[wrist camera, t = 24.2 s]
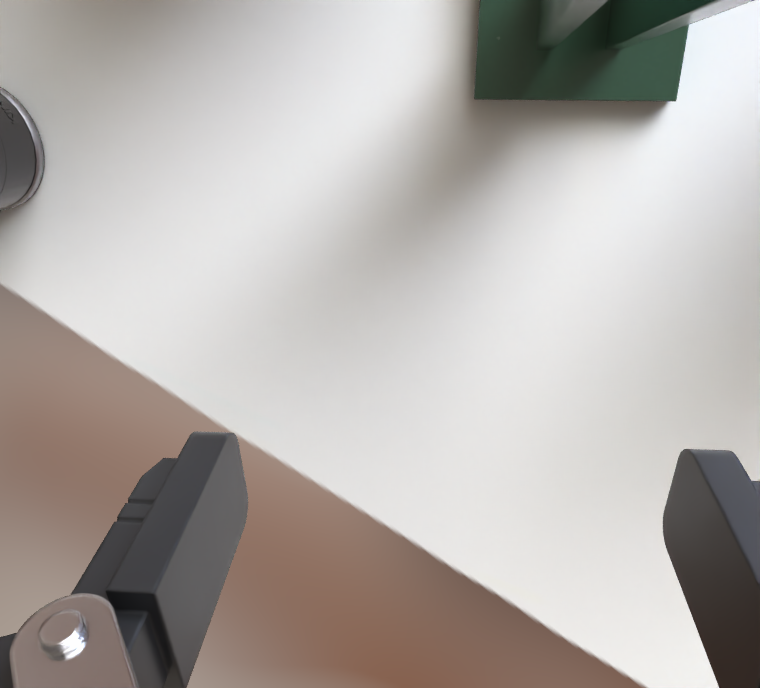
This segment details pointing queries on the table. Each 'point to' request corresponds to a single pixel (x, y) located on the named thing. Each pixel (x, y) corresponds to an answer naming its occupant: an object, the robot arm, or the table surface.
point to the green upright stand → (585, 48)
